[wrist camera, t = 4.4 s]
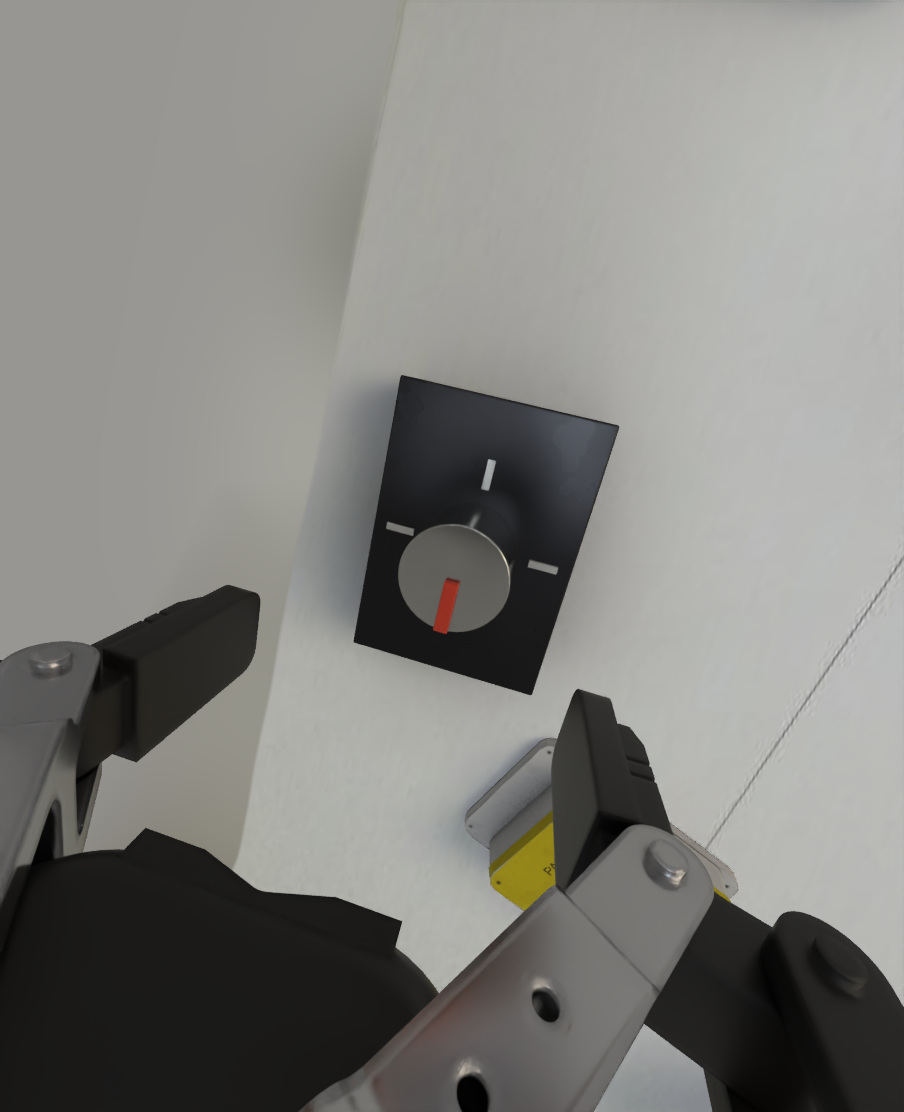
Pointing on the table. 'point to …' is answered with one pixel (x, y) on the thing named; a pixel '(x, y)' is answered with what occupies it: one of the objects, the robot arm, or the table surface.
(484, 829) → the emergency button
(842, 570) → the table surface
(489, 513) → the hob knob
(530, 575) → the panel
